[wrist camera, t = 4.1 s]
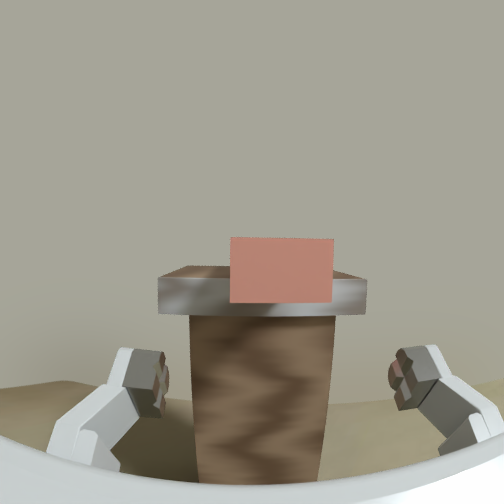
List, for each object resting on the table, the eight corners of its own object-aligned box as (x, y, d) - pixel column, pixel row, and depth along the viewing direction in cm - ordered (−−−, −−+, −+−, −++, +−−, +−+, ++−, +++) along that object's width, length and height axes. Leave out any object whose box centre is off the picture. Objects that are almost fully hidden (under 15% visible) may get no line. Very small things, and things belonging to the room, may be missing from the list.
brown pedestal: (183, 531, 21) (157, 277, 21) (196, 462, 34) (188, 265, 33) (328, 528, 22) (367, 279, 21) (307, 461, 34) (322, 267, 34)
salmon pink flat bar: (229, 302, 12) (230, 237, 12) (236, 265, 34) (236, 242, 34) (331, 302, 12) (333, 239, 12) (274, 266, 34) (274, 242, 34)
